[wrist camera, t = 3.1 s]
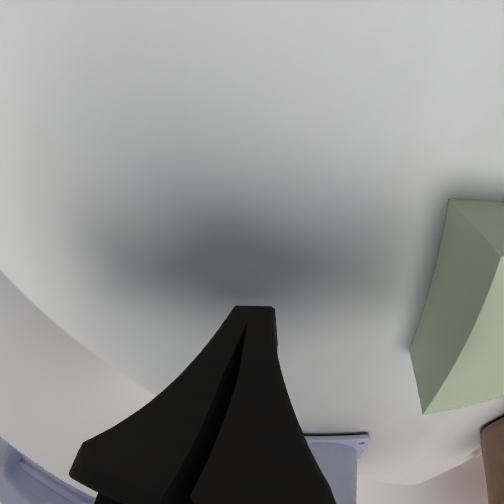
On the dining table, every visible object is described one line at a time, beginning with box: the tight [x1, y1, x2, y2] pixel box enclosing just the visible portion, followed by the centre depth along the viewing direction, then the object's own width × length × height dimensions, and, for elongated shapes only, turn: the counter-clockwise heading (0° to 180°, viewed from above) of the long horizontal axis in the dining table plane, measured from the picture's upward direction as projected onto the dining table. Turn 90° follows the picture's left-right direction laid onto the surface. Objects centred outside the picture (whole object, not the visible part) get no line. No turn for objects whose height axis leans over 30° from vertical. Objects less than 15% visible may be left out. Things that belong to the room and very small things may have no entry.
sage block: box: [409, 199, 504, 415], centre depth 9 cm, size 8×6×4 cm
